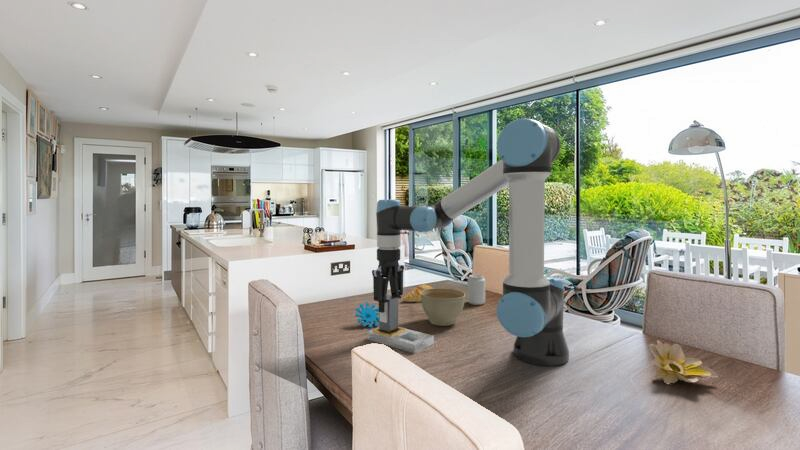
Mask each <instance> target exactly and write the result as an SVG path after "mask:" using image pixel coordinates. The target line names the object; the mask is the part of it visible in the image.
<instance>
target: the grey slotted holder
mask: <svg viewBox="0 0 800 450" xmlns="http://www.w3.org/2000/svg"><path fill="white" fill-rule="evenodd" d="M366 339H367V340H368V341H372V342H375V343H378V344H381V345H386V346H389V347H393V348H394V349H395V348H396V349H399V350H403V351H405V352H410V353H412V354H416V353H418V352H420V351H422V350H424V349H426V348H429V346H432V345H434V344H435V341H434V340H435V335H431V334H429V333H424V332H421V331H416V330H412V329H408V328H405V327H400V326H398V331H396V332H394V333H391V334H388V333H385V332H381V331H379V326H377V327H374V328H372V329H370V330H369V331H366Z"/></svg>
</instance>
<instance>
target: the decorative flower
mask: <svg viewBox="0 0 800 450" xmlns="http://www.w3.org/2000/svg"><path fill="white" fill-rule="evenodd" d="M656 341H657V344H653V343H649V350H650V351H651V354H652V355H653V356H654V359H652V360H651V363H652V364H653V365H655V366H656V367H657V368H658V370H657V371H656V372H655V373H654V374H652V376H651V377H652V378H655V377H663V383H664V384H665V383H673V384H675V383H677V382H678V381H684V382H686V383H696V382H698V381H699V380H704V379H705V378H704V377H707V378H719V376H718V374H717V373H716V371H714V370H713V369H712V368H710V367H708V366H705V365H703V362H702V361H701V360H700V359H698V358H696V357H686V355H685V354H684V350H683V349H682V347H681V345H680V344H678V343H674V344H673V345H670V344H669V343H666V342H665V343H663V342H662V341H661V340H659V339H657V340H656Z"/></svg>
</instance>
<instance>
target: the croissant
mask: <svg viewBox="0 0 800 450" xmlns="http://www.w3.org/2000/svg"><path fill="white" fill-rule="evenodd" d="M432 288H434V287H433V286H431V285H430V284H423V283H422V284H420V285H418V286H416V287H415V288H413V289H412V290H411V291H410V292H407V294H406V295H405V296H403V297H402V300H403V302H406V303H407V302H409V303H422V301H421V291H423V290H426V289H432Z"/></svg>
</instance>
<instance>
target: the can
mask: <svg viewBox="0 0 800 450" xmlns="http://www.w3.org/2000/svg"><path fill="white" fill-rule="evenodd" d="M468 276H469V277H468V278H467V300H466V301H467V302H468V303H469V304H470V305H473V306H480V305H483V304H485V303H486V279H485V277H484V275H482V274H470V275H468Z"/></svg>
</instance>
